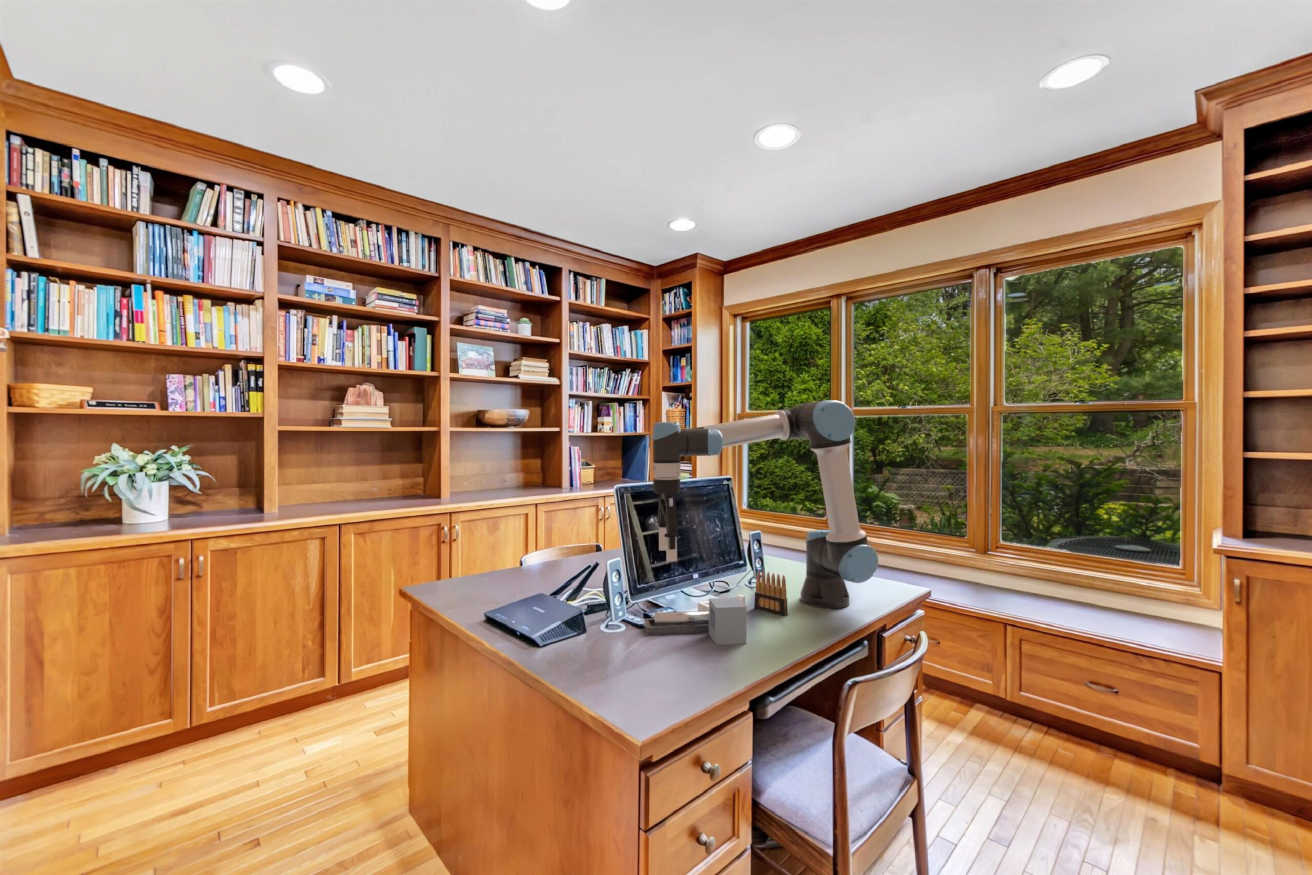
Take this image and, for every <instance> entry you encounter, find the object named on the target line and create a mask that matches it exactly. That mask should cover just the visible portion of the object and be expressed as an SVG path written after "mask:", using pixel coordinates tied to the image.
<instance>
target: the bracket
mask: <svg viewBox="0 0 1312 875" xmlns="http://www.w3.org/2000/svg"><path fill="white" fill-rule="evenodd" d="M735 598H739V599H740V600H741V601H742V602H743V603H744V604H745V605H746V596H745V595H743V594H740V593H739V594H736V596H735ZM697 611H709V600H705V601H704V600H703V601H699V602H697Z"/></svg>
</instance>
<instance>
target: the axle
mask: <svg viewBox="0 0 1312 875" xmlns="http://www.w3.org/2000/svg"><path fill="white" fill-rule="evenodd" d="M653 618H654V626H671V625H695V624H709V611H698V610H693V611H692V610H691V611H668V612H667V611H665V612H663V611H662V612H661V611H659V612H654V613H653Z"/></svg>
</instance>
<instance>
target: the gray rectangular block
mask: <svg viewBox="0 0 1312 875" xmlns="http://www.w3.org/2000/svg"><path fill="white" fill-rule="evenodd" d="M708 601H709V632H708V635H709V636H710V638H711V640H712V641H713V643H714V644H715V646H725V645H742V644H743V645H746V644H747V636H748V635H747V630H748V629H747V622H748V621H747V620H748V619H747V618H748V617H747V616H748V615H747V613H748V612H747V610H748V608H747V606H746V603H745V604H744V603H743V602H742V601H741V600H740V599H739V598H736V597H717V598H716V597H715V598H713V597H712V598H708Z"/></svg>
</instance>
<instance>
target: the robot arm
mask: <svg viewBox="0 0 1312 875" xmlns="http://www.w3.org/2000/svg"><path fill="white" fill-rule="evenodd" d="M680 425H681V424H680V422H679V421H678V422H677V421H674V422H672V421H668V422H667V421H663V422H662V421H661V422H655V423H653V426H652V438H651V440H652V466H651V467H650V470H652V471H653V472H652V474H653V475H652V476H653V477H654V479H652V488H653V489H652V490H653V493H656V494H658V513H657V514H658V515H657V524H658V550H659V551H660V552H661V551H665V552H666V556H665V558H666V559H665V561H666V562H668V563H669V562H678V537H677V536H679V526H678V515H677V505H676V503H677V499H676V498H675V497H674V495H673V494H678V493H680V492H681V491H682V490H681V479H680V477H681V474H682V473H681V472H682V471H681V457H703V456H704V457H705V456H707V457H712V456H719V455H720V454H721V452H722V451H723V449H724V448H729V447H735V446H740V445H748V444H751V443H752V444H753V443H758V442H763V441H768V440H774V439H780V440H782V441H786V440H787V441H788V440H808V443H809V449H810V450H811V451H812V452H814V453H815V454H816V458H817V462H818V463H817V464H818V470H819V474H820V475H819V477H820V481H821V487H822V491H823V498H824V503H825V505H824V506H825V509H826V517H827V522H828V527H829V529H818V530H815V529H814V530H809V531H808V532H807V534H806V539H805V540H806V541H805V543H806V548H805V550H806V551H805V552H806V555H805V558H806V560H805V561H806V564H805V566H806V568H805V569H806V573H805V574H806V576H805V579H804V581H803V584H802V587H801V590H800V600H801V602H803V603H804V604H806V605H808V606H812V607H818V608H822V609H823V608H824V609H842V608H845V607H848V606H849V605H850V594H849V592H848V588H847V585H846V582H850V583H853V584H854V583H855V584H862V583H864V582H867V581H868V580H870V579H871V578H873V577H874V573H876V572H877V570H878V567H879V555H878V553H877V551H876V550H875V549H874V548H873V547H872V546H871V545H869V542H868V537H867V536H868V535H867V533H866V531H864V530H863V529H862V528H861V527H860V522H859V516H858V510H857V504H856V503H857V502H856V498H855V491H854V486H853V480H852V474H851V469H850V461H849V457H848V456H849V455H848V448H849V447H850V445H851V443H852V440H851V436H852V434H853V431H854V430H855V428H856V418H855V415H854V412H853V410H852V409H851V408H850V407H849V406H848V405H847V404H846V403H844V402H843V401H841V400H840V401H839V400H832V399H827V400H826V399H825V400H817V401H809V402H805V403H801V404H798V405H795V406H792V407H788V408H783V409H778V410H776V411H775V414H774V413H773V414H769V415H762V416H756V417H751V418H745V419H740V420H733V421H728V422H722V423H716V424H715V423H714V424H711V425H710V424H709V425H704V426H698V427H693V428H692V427H691V428H681V426H680ZM845 581H846V582H845Z"/></svg>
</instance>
